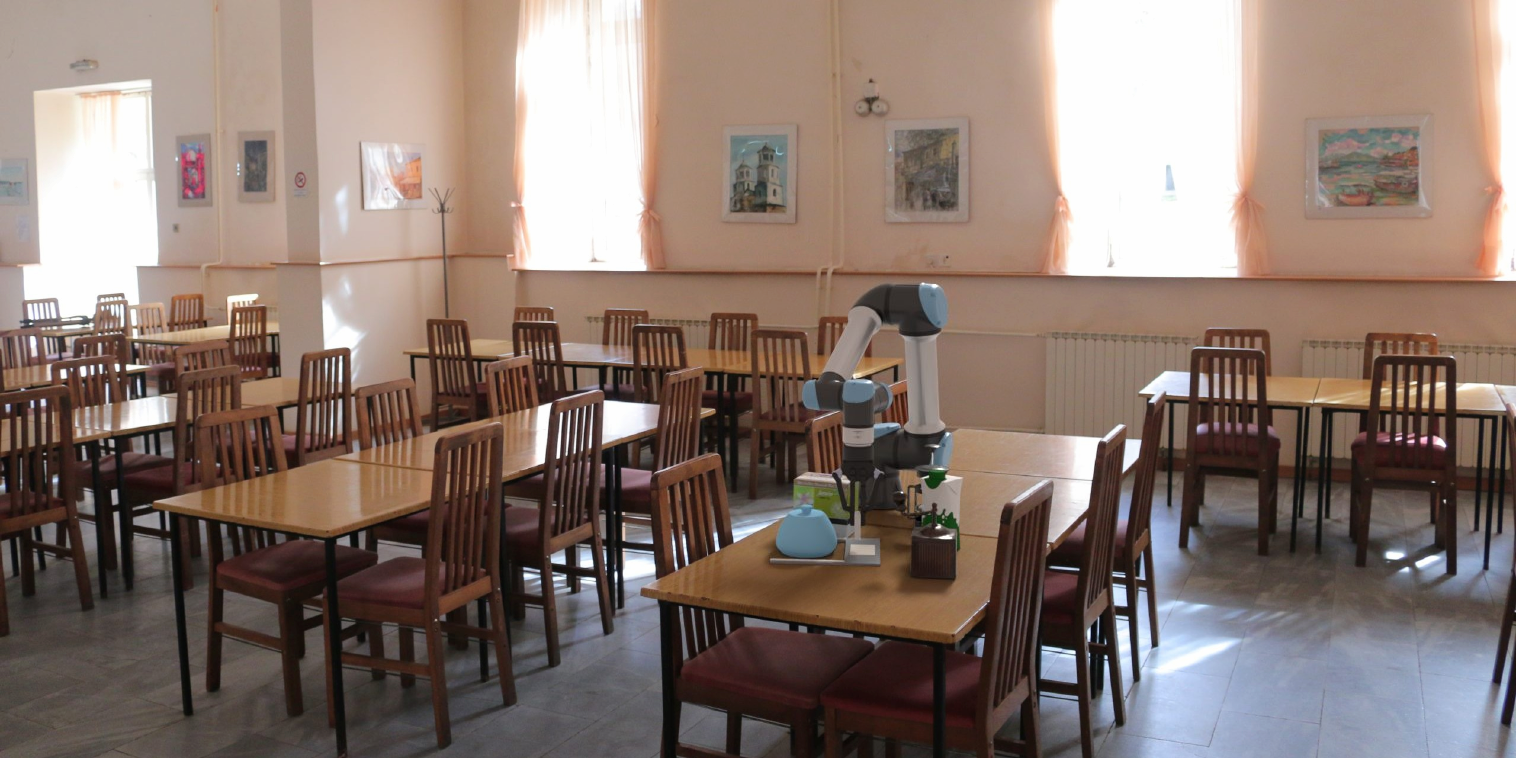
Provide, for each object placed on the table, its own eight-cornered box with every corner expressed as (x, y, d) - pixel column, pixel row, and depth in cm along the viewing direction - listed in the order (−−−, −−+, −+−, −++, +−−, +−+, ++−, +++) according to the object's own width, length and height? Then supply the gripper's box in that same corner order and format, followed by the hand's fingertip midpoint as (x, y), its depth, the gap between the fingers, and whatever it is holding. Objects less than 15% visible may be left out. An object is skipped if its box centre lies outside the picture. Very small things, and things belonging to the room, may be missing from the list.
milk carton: (915, 549, 287) (916, 469, 285) (936, 541, 294) (937, 464, 291) (945, 555, 281) (946, 474, 279) (966, 548, 288) (967, 469, 285)
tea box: (792, 533, 302) (792, 478, 300) (805, 524, 312) (805, 470, 310) (847, 539, 297) (847, 482, 295) (859, 530, 306) (859, 475, 304)
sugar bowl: (805, 540, 296) (805, 495, 295) (849, 551, 286) (849, 505, 284) (763, 551, 286) (763, 505, 284) (807, 563, 275) (808, 515, 274)
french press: (955, 528, 307) (957, 443, 304) (947, 537, 298) (949, 449, 295) (912, 524, 311) (913, 440, 308) (902, 533, 302) (904, 446, 299)
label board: (777, 538, 298) (777, 535, 298) (879, 540, 295) (879, 537, 295) (769, 563, 275) (769, 560, 275) (880, 566, 273) (880, 563, 273)
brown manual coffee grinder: (957, 566, 272) (958, 491, 270) (956, 580, 261) (957, 502, 259) (890, 563, 275) (891, 488, 273) (887, 576, 264) (888, 499, 262)
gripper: (830, 446, 278) (830, 542, 281) (885, 446, 277) (884, 543, 280) (831, 440, 285) (831, 534, 288) (885, 441, 284) (884, 535, 287)
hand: (857, 538), depth 284 cm, fingers closed
